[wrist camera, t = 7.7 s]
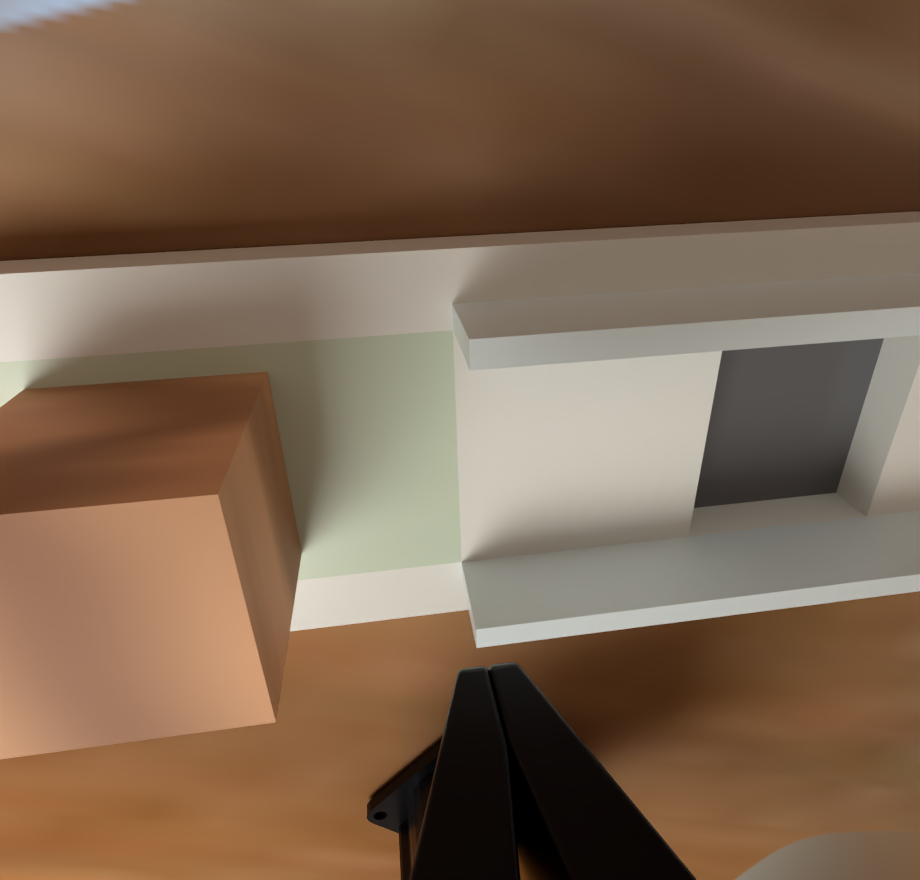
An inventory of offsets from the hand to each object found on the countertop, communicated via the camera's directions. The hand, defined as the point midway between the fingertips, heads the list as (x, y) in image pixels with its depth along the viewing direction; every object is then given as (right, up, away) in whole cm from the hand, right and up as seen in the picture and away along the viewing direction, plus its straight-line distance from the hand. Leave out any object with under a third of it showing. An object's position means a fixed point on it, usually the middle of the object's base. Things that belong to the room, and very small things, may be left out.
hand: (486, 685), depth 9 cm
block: (-7, +3, +6) cm, 9 cm away
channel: (+1, +4, +8) cm, 9 cm away
